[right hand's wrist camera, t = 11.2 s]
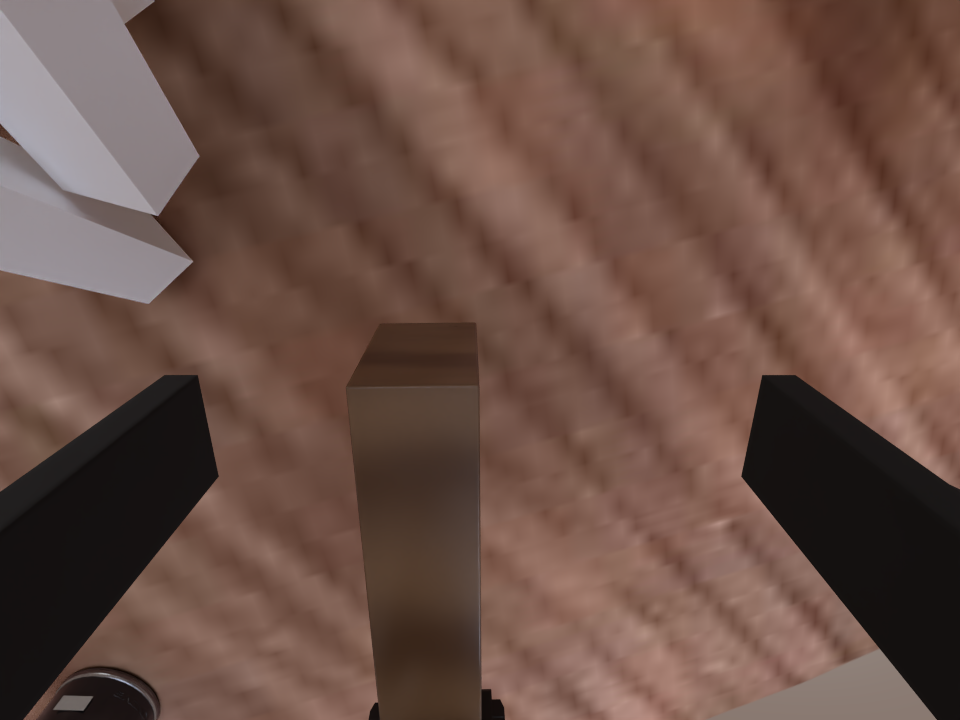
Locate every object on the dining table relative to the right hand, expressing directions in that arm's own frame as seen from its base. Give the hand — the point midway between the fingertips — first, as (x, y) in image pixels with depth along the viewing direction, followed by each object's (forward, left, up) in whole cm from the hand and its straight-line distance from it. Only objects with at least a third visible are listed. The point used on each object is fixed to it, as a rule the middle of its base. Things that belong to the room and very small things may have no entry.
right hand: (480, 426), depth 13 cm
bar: (+15, -2, -15) cm, 21 cm away
